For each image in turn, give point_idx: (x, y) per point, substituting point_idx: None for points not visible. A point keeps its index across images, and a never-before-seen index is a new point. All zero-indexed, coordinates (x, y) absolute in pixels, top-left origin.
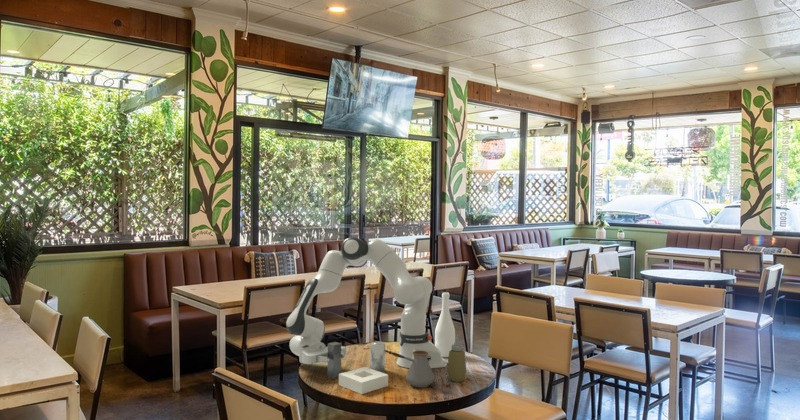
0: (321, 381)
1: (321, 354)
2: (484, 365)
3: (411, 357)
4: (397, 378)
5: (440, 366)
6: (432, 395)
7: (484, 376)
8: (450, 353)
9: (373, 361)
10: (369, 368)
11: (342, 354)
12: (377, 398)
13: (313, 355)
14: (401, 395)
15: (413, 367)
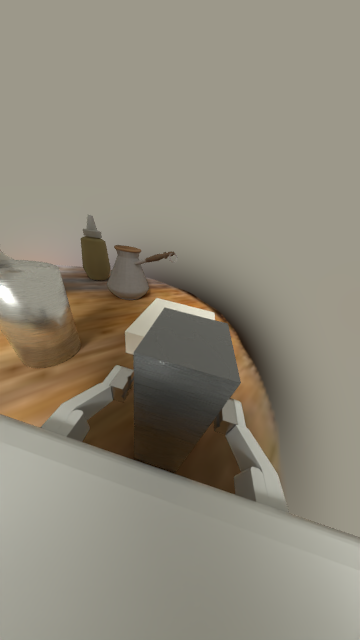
0: (229, 447)
1: (246, 498)
2: None
3: None
4: (111, 312)
5: None
6: (159, 287)
7: (78, 267)
8: (101, 243)
9: (69, 326)
10: (135, 321)
11: (127, 369)
12: None
13: (357, 540)
14: (177, 301)
15: (141, 272)
